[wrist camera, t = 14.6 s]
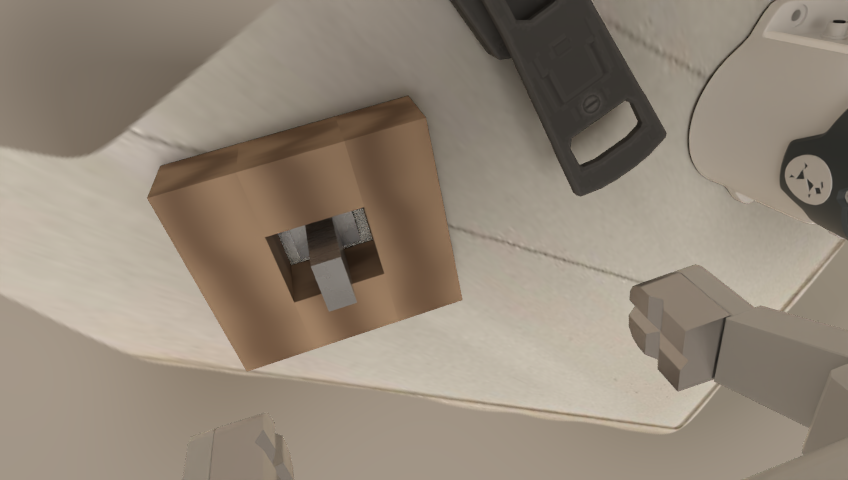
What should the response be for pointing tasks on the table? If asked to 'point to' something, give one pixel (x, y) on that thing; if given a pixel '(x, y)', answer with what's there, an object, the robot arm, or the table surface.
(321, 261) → the steel bracket
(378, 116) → the walnut well
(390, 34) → the table surface
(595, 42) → the zipper pull
